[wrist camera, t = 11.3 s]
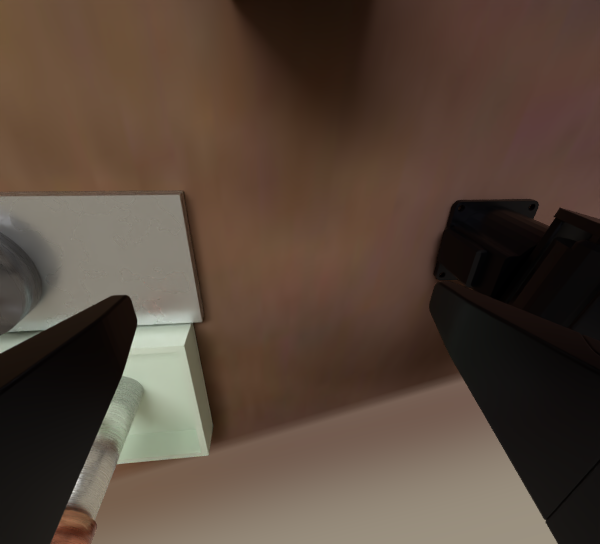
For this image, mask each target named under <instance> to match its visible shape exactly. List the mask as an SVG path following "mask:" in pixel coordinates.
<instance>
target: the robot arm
mask: <svg viewBox="0 0 600 544" xmlns="http://www.w3.org/2000/svg"><path fill="white" fill-rule="evenodd" d="M461 205H462V207H461V209H460V210H458V208H459V206H461ZM530 205H531V207H530V208H529V206H530ZM538 206H539V204H538V202H537V201H535V200H532V199H502V200H458V201H456V202H455V203H454V204H453V206H452V209H451V212H450V216H449V220H448V223H447V227H446V230H445V231H444V234H443V238H442V242H441V246H440V249H439V253H438V257H437V264H436V267H435V271H434V276H435V277H436V278H437V279H438V280H459V281H461V282H462V283H463V284H464V285H465V286H466V287H468V288H471V289H473V290H474V291H473V290H471V289H468V288H466V287H463V286H461V285H458V284H456V283H453V282H450V281H445V282H437V283H436V284H435V286H434V289H433V293H432V296H431V300H430V304H429V309H430V313H431V315H432V317H433V319H434V322H435V324H436V326H437V328H438V331H439V333H440V335H441V338H442V340H443V342H444V344H445V347H446V349H447V351H448V353H449V355H450V356H451V358H452V360H453V362H454V364H455V365H456V367H457V369H458V371H459V372H460V374H461V376H462V378H463V379H464V381H465V383H466V384H467V386H468V388H469V390H470V391H471V393H472V395H473V397H474V398H475V400H476V402H477V404H478V405H479V407H480V409H481V410H482V412H483V414H484V415H485V417H486V419H487V421H488V423H489V424H490V426H491V428H492V429H493V431H494V433H495V435H496V437H497V438H498V440H499V442H500V443H501V445H502V447H503V449H504V450H505V452H506V454H507V456H508V457H509V459H510V461H511V463H512V464H513V466H514V468H515V470H516V471H517V473H518V475H519V476H520V478H521V480H522V482H523V483H524V485H525V487H526V489H527V490H528V492H529V494H530V495H531V497H532V499H533V501H534V502H535V504H536V506H537V508H538V509H539V511H540V513H541V514H542V516H543V518H544V519H545V520H546V524H547V525H548V527H549V529H550V531H551V532H552V534H553V536H554V538H555V539H556V541H557V543H558V544H600V219H597V218H594V217H590V216H587V215H583V214H580V213H577V212H573V211H570V210H566V209H563V208H559V210H558V211H557V213H556V214H555V216H554V217H556V218H555V219H554V221H553V222H552V224H551V225H550V226H548V225H545V224H543V223H541V222H539V221H536V220H534V216H535V214H536V211H537V209H538ZM442 272H443V273H442ZM440 273H442V274H441V275H440ZM136 328H137V316H136V313H135V310H134V307H133V303H132V300H131V298H130V297H129V296H128V295H112V296H110V297H108V298H106V299H104V300H102V301H100V302H98V303H96V304H94V305H92V306H91V307H89V308H87V309H85V310H83V311H81V312H79V313H77V314H75V315H73V316H71V317H69V318H67V319H66V320H64V321H62V322H60V323H58V324H56V325H54V326H52V327H50V328H48V329H46V330H44V331H42V332H40V333H39V334H37V335H35V336H33V337H31V338H29V339H27V340H25V341H23V342H21V343H19V344H17V345H15V346H13V347H12V348H10V349H8V350H6V351H4V352H2V353H0V544H51V541H52V539H53V537H54V534H55V532H56V530H57V527H58V525H59V523H60V520H61V518H62V516H63V513H64V511H65V509H66V506H67V504H68V502H69V499H70V497H71V495H72V492H73V490H74V488H75V485H76V483H77V481H78V478H79V476H80V474H81V471H82V469H83V467H84V464H85V462H86V460H87V457H88V455H89V453H90V450H91V448H92V446H93V443H94V441H95V439H96V436H97V434H98V432H99V429H100V427H101V425H102V422H103V420H104V417H105V415H106V413H107V410H108V408H109V406H110V403H111V401H112V399H113V396H114V394H115V392H116V389H117V387H118V385H119V382H120V380H121V377H122V375H123V372H124V369H125V366H126V363H127V359H128V356H129V352H130V349H131V346H132V342H133V339H134V335H135V332H136Z"/></svg>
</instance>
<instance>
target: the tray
mask: <svg viewBox="0 0 600 544" xmlns="http://www.w3.org/2000/svg"><path fill="white" fill-rule="evenodd" d="M42 331H44V330H33V331H13V332H6V333H4V334H3V335H0V353H2V352H4V351H6V350H8V349H10V348H12V347H13V346H15V345H17V344H19V343H21V342H23V341H25V340H27V339H29V338H31V337H33V336H35V335H37V334H39V333H40V332H42ZM122 376H125V377H129V378H132V379H134V380H136V381H138V382H139V383H140V384H141V385H142V386H143V389H144V395H143V397H142V400H141V402H140V405H139V408H138V410H137V413H136V415H135V418H134V420H133V423H132V425H131V428H130V431H129V433H128V436H127V438H126V441H125V443H124V446H123V449H122V451H121V454H120V456H119V459H118V461H117V464H122V463H133V462H144V461H154V460H165V459H176V458H187V457H198V456H208V455H209V451H210V444H211V438H212V431H213V422H212V417H211V412H210V407H209V402H208V397H207V392H206V387H205V381H204V376H203V371H202V366H201V361H200V356H199V351H198V346H197V341H196V335H195V330H194V325H193V323H174V324H154V325H137V328H136V332H135V335H134V339H133V342H132V346H131V349H130V352H129V356H128V359H127V363H126V366H125V369H124V372H123V375H122Z"/></svg>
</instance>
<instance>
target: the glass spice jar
mask: <svg viewBox="0 0 600 544" xmlns="http://www.w3.org/2000/svg"><path fill="white" fill-rule="evenodd" d="M143 395H144V389H143V386H142V385H141V384H140V383H139V382H138V381H136V380H134V379H132V378H129V377H125V376H122V377H121V380H120V382H119V385H118V387H117V389H116V392H115V394H114V396H113V399H112V401H111V403H110V406H109V408H108V410H107V413H106V415H105V417H104V420H103V422H102V425H101V427H100V429H99V432H98V434H97V436H96V439H95V441H94V443H93V446H92V448H91V450H90V453H89V455H88V457H87V460H86V462H85V464H84V467H83V469H82V471H81V474H80V476H79V478H78V481H77V483H76V485H75V488H74V490H73V492H72V495H71V497H70V499H69V502H68V504H67V506H66V509H65V511H64V513H63V516H62V518H61V520H60V523H59V525H58V527H57V530H56V532H55V534H54V537H53V539H52V541H51V544H91V543H92V540H93V537H94V535H95V532H96V529H97V524H96V522H95V521H94V520H95V518H96V515H97V513H98V510H99V508H100V505H101V502H102V500H103V497H104V495H105V492H106V489H107V487H108V485H109V482H110V479H111V477H112V474H113V472H114V469H115V467H116V464H117V461H118V459H119V456H120V454H121V451H122V449H123V446H124V443H125V441H126V438H127V436H128V433H129V431H130V428H131V425H132V423H133V420H134V418H135V415H136V413H137V410H138V408H139V405H140V402H141V400H142V397H143Z"/></svg>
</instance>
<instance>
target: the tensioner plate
mask: <svg viewBox="0 0 600 544" xmlns="http://www.w3.org/2000/svg"><path fill="white" fill-rule="evenodd" d="M112 295H128V296H129V297H130V298H131V300H132V303H133V307H134V310H135V313H136V316H137V325H154V324H174V323H194V322H202V320H203V317H204V310H203V304H202V299H201V293H200V287H199V281H198V275H197V269H196V263H195V257H194V251H193V246H192V240H191V234H190V228H189V222H188V216H187V210H186V204H185V198H184V193H183V191H93V192H0V335H3V334H4V333H6V332H13V331H33V330H46V329H48V328H50V327H52V326H54V325H56V324H58V323H60V322H62V321H64V320H66V319H67V318H69V317H71V316H73V315H75V314H77V313H79V312H81V311H83V310H85V309H87V308H89V307H91V306H92V305H94V304H96V303H98V302H100V301H102V300H104V299H106V298H108V297H110V296H112Z"/></svg>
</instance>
